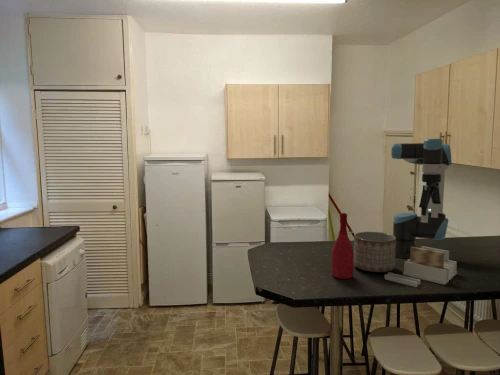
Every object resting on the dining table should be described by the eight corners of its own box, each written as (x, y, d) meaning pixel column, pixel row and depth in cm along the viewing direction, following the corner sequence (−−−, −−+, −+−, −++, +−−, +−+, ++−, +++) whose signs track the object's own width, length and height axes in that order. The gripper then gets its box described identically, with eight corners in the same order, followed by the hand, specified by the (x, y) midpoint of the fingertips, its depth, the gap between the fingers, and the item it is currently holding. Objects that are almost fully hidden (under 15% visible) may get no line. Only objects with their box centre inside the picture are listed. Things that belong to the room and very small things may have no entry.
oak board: (409, 271, 167) (410, 247, 165) (410, 271, 168) (411, 246, 167) (442, 279, 157) (443, 253, 156) (443, 278, 158) (444, 252, 157)
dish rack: (403, 274, 167) (404, 251, 165) (416, 265, 179) (417, 243, 178) (444, 284, 154) (446, 259, 153) (456, 273, 167) (457, 250, 166)
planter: (377, 278, 162) (378, 243, 160) (345, 266, 179) (346, 234, 177) (403, 270, 173) (404, 237, 171) (370, 259, 189) (371, 229, 187)
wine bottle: (349, 281, 159) (351, 216, 155) (328, 277, 164) (329, 214, 161) (355, 274, 167) (357, 212, 164) (335, 271, 172) (336, 210, 169)
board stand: (384, 279, 161) (384, 274, 161) (388, 276, 165) (388, 272, 164) (416, 287, 152) (416, 282, 151) (420, 284, 155) (420, 279, 155)
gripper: (431, 175, 147) (428, 225, 149) (449, 171, 164) (446, 216, 167) (412, 175, 152) (410, 223, 154) (432, 171, 169) (429, 214, 172)
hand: (429, 219), depth 161 cm, fingers open, 13 cm apart
